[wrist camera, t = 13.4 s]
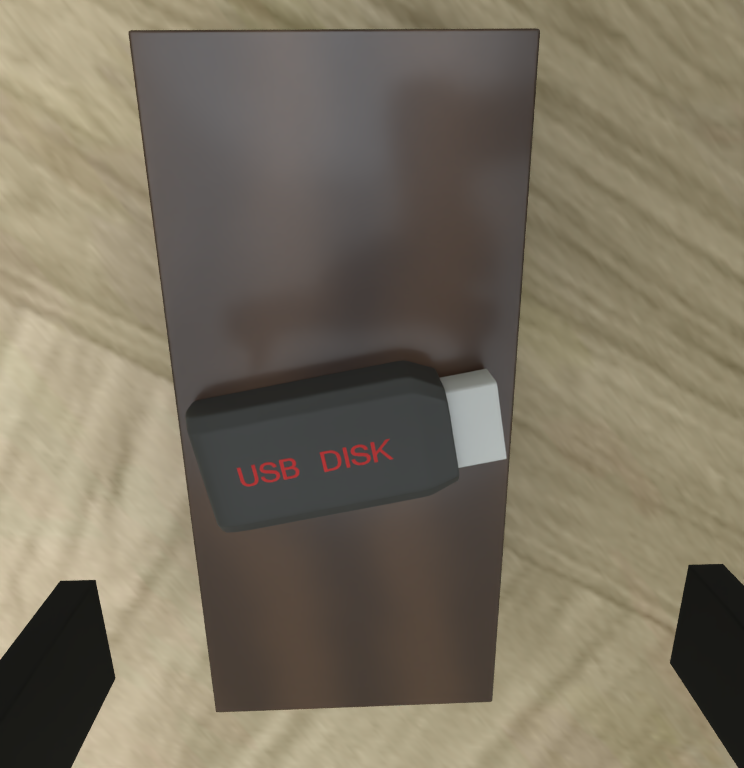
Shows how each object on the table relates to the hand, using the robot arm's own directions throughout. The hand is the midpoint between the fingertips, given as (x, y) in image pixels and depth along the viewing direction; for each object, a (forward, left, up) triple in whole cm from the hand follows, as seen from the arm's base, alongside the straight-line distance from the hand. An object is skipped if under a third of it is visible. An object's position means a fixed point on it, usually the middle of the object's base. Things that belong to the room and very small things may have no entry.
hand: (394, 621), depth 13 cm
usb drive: (+1, 0, -12) cm, 12 cm away
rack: (+1, +1, -20) cm, 20 cm away
